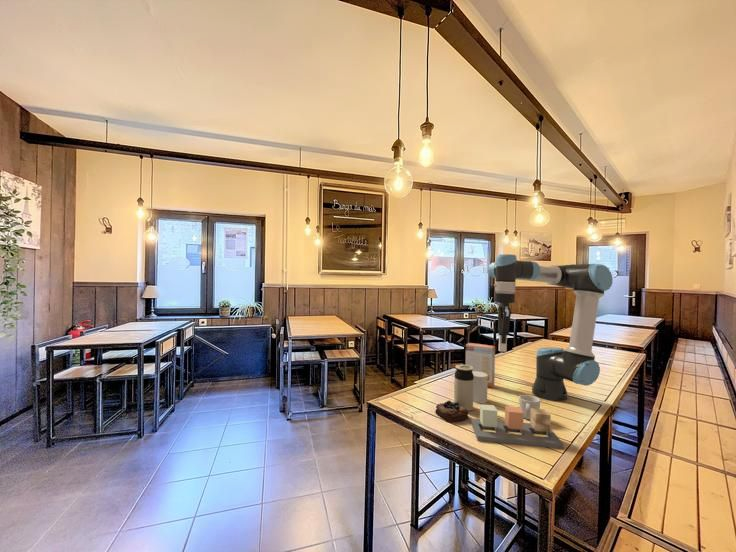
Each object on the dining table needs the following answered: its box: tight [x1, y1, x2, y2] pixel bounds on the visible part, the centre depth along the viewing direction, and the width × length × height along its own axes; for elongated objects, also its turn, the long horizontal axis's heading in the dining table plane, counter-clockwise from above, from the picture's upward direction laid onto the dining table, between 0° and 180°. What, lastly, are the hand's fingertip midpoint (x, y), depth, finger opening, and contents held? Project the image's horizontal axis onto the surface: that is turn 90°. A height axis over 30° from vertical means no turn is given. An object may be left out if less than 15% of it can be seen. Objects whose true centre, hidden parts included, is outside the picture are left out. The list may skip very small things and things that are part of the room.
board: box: [470, 418, 564, 449], centre depth 119 cm, size 28×14×2 cm, turn 81°
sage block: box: [479, 403, 498, 427], centre depth 120 cm, size 5×5×6 cm
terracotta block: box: [504, 405, 525, 430], centre depth 119 cm, size 5×5×6 cm
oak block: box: [529, 408, 552, 432], centre depth 117 cm, size 5×5×6 cm
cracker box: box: [465, 342, 496, 388], centre depth 173 cm, size 14×6×21 cm, turn 55°
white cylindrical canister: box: [472, 371, 488, 404], centre depth 151 cm, size 8×8×12 cm
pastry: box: [434, 400, 469, 424], centre depth 134 cm, size 11×12×6 cm
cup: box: [518, 394, 542, 421], centre depth 132 cm, size 11×8×8 cm
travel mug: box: [453, 364, 474, 412], centre depth 142 cm, size 8×8×18 cm
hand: (502, 351), depth 131 cm, fingers closed
